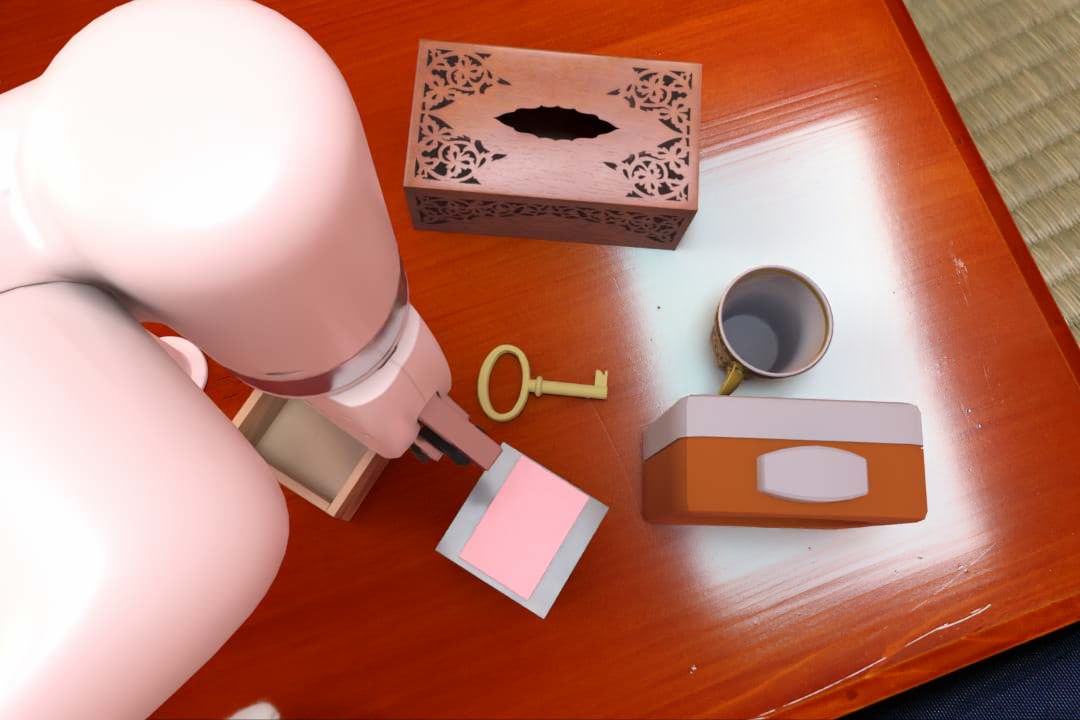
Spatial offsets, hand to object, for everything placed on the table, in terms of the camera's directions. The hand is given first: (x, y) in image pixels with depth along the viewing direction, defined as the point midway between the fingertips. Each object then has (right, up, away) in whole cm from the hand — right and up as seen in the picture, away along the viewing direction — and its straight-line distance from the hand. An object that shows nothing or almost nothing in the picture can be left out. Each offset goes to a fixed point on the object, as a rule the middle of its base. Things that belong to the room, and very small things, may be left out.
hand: (366, 385), depth 47 cm
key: (+9, -1, +35) cm, 36 cm away
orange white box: (+28, -10, +34) cm, 45 cm away
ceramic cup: (+28, +1, +36) cm, 46 cm away
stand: (+7, -15, +31) cm, 35 cm away
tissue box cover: (+10, +20, +40) cm, 46 cm away
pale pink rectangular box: (+8, -9, +7) cm, 14 cm away
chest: (-9, -5, +33) cm, 34 cm away
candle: (-25, 0, +33) cm, 42 cm away
